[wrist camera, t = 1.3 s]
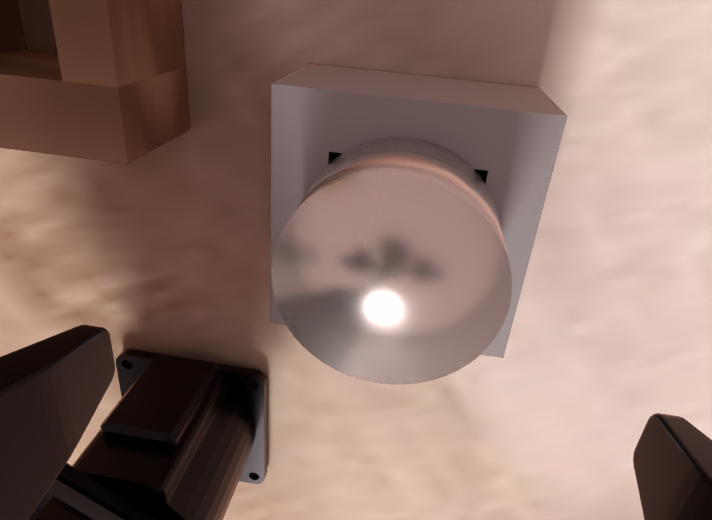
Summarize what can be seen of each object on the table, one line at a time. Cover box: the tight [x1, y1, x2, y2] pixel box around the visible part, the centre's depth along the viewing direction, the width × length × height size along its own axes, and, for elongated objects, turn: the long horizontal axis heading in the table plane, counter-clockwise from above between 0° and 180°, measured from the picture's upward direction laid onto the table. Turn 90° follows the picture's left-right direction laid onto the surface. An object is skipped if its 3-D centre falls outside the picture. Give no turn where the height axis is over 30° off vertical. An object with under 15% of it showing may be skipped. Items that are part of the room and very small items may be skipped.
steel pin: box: [271, 137, 512, 384], centre depth 14 cm, size 5×5×7 cm
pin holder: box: [270, 63, 567, 358], centre depth 16 cm, size 7×7×4 cm
